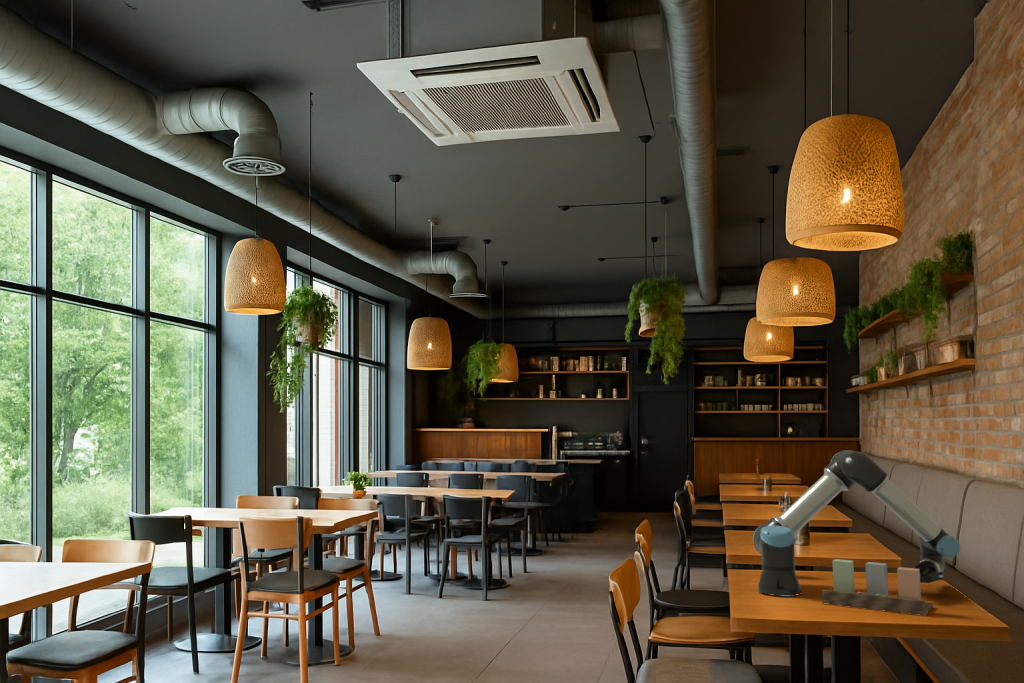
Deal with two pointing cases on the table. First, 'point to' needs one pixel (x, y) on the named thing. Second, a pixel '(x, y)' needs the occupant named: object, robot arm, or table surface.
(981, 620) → the table surface
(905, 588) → the terracotta key
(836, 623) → the table surface
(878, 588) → the blue-grey upright slab
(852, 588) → the pale green upright slab
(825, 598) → the keypad console
